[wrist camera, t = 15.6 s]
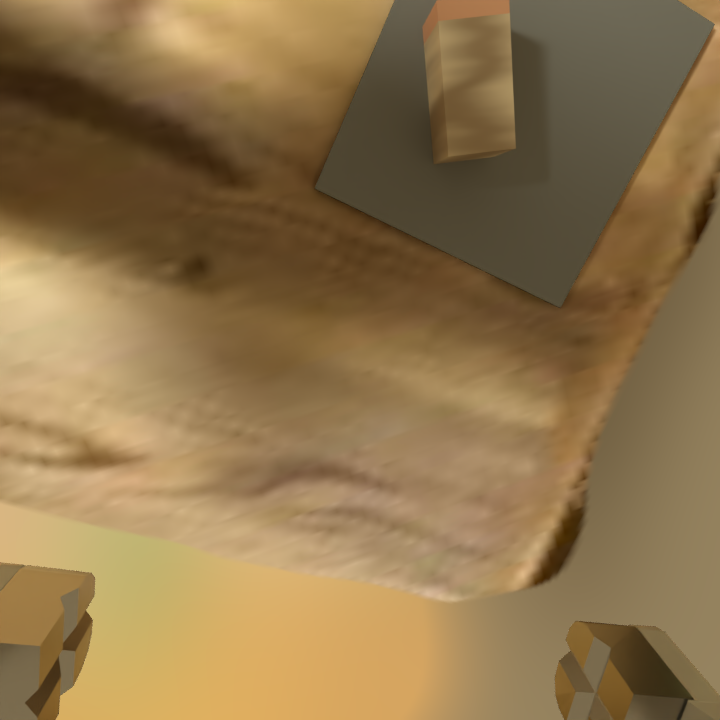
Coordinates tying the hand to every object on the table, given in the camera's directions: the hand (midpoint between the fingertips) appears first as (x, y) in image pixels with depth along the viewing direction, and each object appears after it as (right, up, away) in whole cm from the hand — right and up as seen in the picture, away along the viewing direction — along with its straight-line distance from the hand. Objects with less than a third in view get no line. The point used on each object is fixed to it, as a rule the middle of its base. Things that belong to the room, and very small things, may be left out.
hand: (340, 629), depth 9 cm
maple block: (+7, +17, +24) cm, 30 cm away
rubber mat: (+10, +21, +26) cm, 35 cm away
